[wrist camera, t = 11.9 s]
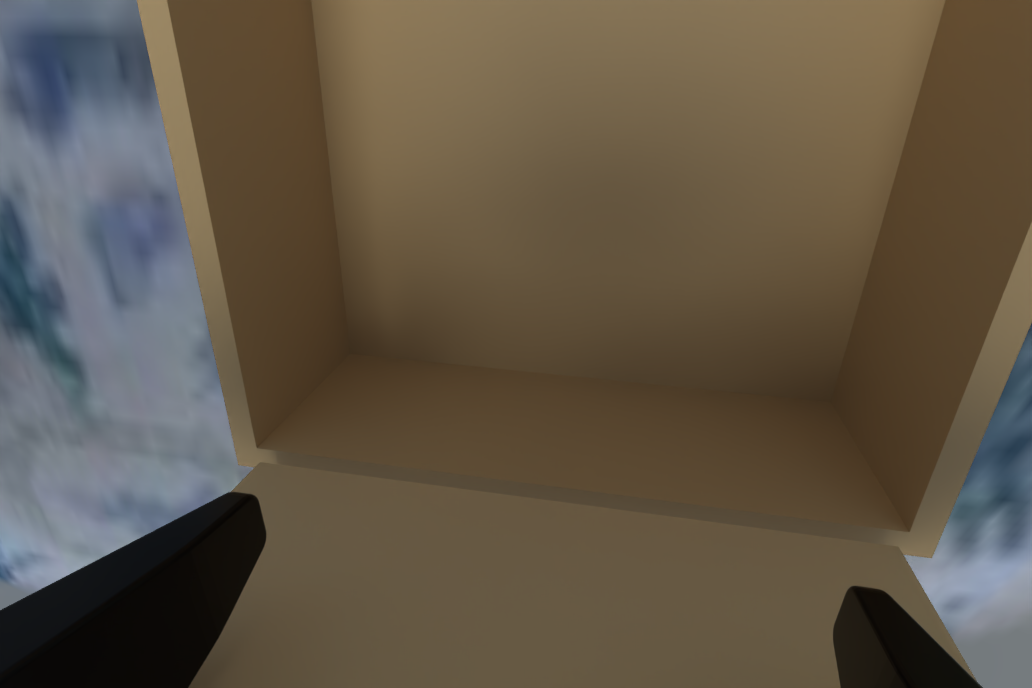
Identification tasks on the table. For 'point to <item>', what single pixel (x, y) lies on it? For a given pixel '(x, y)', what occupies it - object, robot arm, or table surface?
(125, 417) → the table surface
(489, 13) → the carton
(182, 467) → the table surface
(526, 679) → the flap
